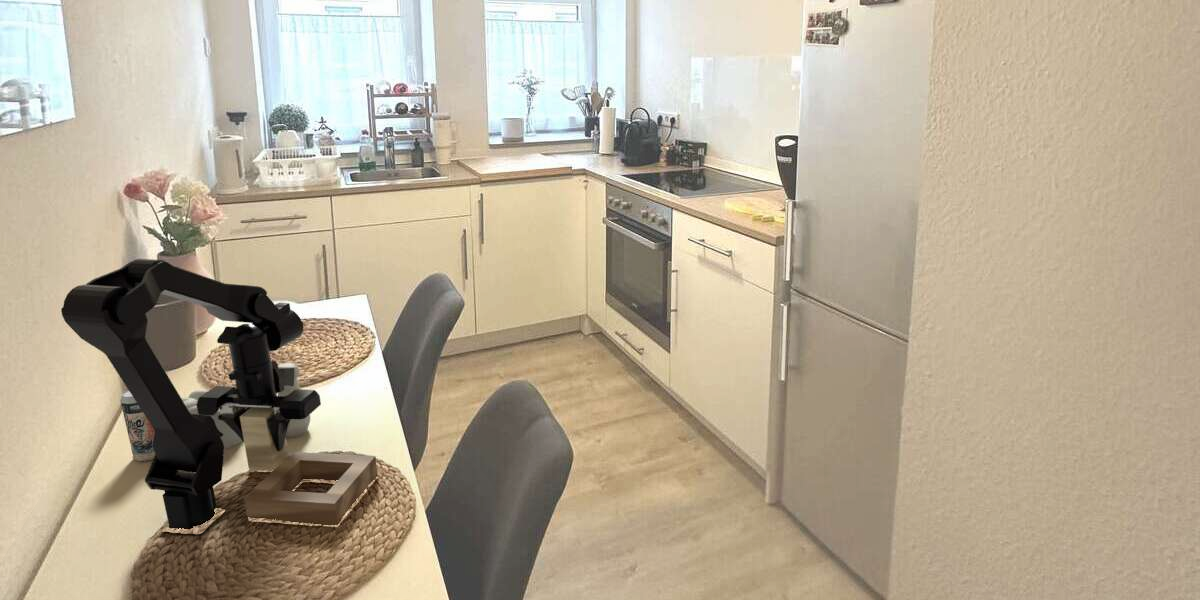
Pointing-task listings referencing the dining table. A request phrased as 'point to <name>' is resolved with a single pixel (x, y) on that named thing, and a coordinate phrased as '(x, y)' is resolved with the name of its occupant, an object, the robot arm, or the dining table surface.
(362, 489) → the socket block
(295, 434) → the salt shaker
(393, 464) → the dining table surface
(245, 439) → the birch peg
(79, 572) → the dining table surface
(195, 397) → the lumpy-topped squat cylinder
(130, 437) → the beer can
